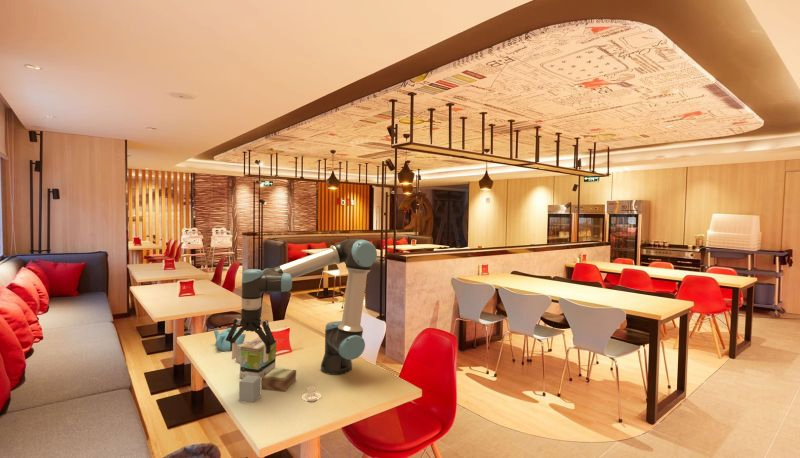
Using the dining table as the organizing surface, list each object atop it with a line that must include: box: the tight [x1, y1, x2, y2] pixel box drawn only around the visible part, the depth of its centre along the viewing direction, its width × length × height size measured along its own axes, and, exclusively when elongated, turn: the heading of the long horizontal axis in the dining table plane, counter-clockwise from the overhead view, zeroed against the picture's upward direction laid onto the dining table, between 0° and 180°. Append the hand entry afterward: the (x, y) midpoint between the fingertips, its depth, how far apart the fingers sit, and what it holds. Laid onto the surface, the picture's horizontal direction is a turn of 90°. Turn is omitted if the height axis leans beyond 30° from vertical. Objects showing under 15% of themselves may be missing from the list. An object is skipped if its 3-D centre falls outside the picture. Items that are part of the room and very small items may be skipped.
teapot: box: [213, 327, 247, 352], centre depth 222 cm, size 15×15×11 cm
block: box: [238, 375, 262, 403], centre depth 163 cm, size 6×6×8 cm
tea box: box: [239, 336, 277, 379], centre depth 188 cm, size 15×10×15 cm, turn 168°
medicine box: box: [235, 341, 251, 364], centre depth 203 cm, size 8×4×9 cm, turn 148°
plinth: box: [261, 367, 297, 392], centre depth 177 cm, size 11×11×5 cm
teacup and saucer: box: [301, 386, 322, 402], centre depth 166 cm, size 9×8×4 cm
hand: (250, 359), depth 163 cm, fingers open, 13 cm apart
